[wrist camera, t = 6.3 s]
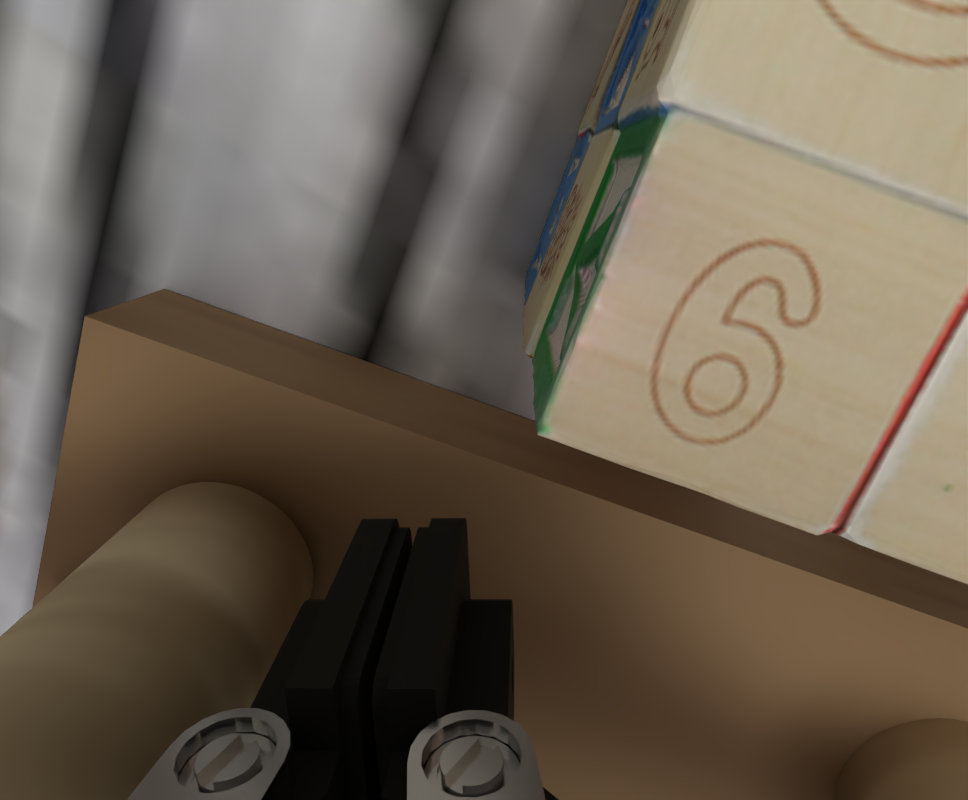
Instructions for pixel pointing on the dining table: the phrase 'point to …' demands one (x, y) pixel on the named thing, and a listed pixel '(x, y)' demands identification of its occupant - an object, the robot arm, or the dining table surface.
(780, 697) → the wooden peg board
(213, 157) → the dining table surface
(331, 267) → the dining table surface
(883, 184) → the stack of blocks
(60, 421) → the dining table surface
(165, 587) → the hinged leg
